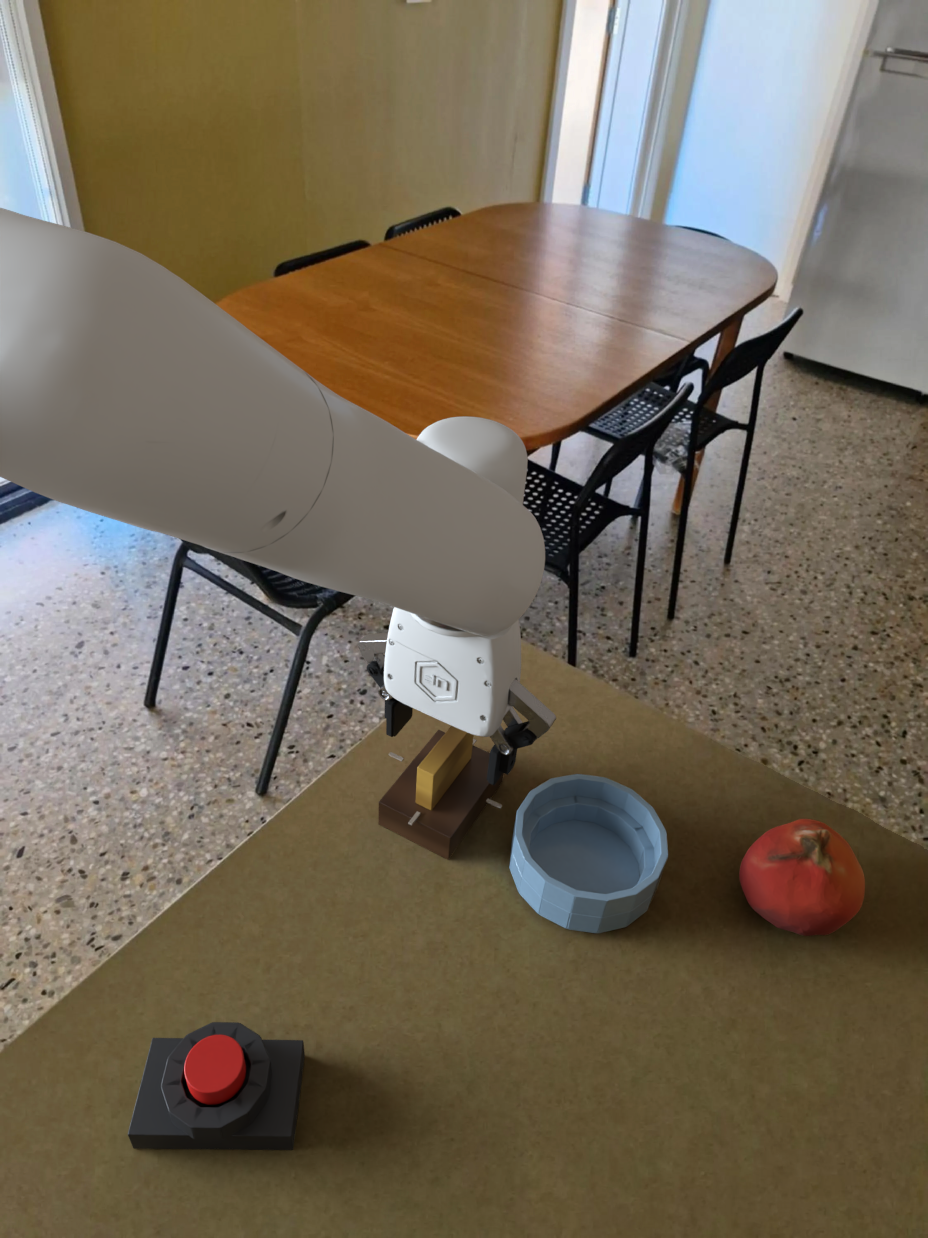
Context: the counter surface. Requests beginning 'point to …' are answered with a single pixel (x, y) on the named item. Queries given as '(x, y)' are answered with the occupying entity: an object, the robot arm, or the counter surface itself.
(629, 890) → the basin
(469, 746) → the yellow block red tip
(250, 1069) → the button box
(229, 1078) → the button
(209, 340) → the robot arm
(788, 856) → the tomato
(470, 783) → the base
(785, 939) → the counter surface
